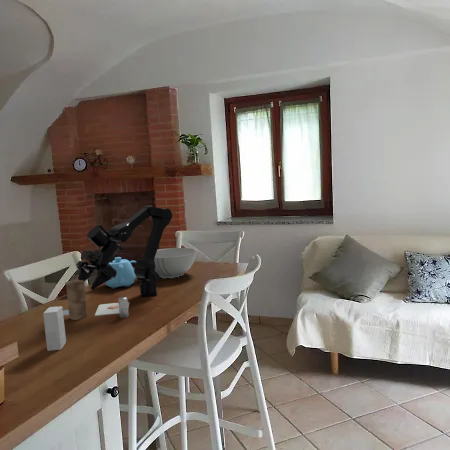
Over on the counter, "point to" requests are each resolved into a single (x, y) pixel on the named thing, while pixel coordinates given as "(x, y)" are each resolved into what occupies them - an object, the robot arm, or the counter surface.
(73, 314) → the tan tall block
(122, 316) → the pin
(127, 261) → the decorative pot
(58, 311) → the skincare box
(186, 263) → the decorative bowl
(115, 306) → the board
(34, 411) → the counter surface
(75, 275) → the vase
